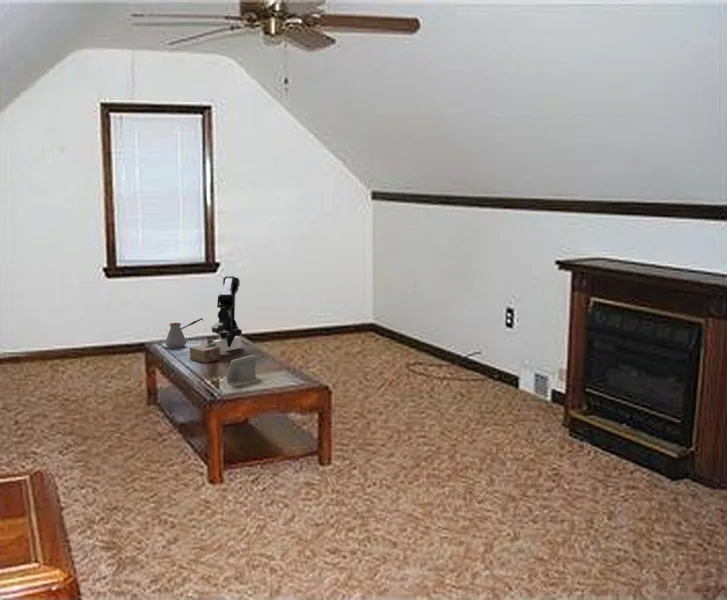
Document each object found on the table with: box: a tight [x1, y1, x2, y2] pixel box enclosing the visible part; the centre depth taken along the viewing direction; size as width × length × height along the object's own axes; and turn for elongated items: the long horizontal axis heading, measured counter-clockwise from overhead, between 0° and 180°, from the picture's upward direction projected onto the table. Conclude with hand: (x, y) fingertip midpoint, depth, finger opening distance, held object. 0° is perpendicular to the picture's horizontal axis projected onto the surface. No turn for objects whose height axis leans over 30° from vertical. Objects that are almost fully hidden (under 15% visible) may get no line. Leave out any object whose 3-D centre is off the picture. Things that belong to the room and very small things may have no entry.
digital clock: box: [226, 354, 258, 383], centre depth 364 cm, size 16×9×11 cm, turn 131°
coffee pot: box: [164, 317, 204, 349], centre depth 436 cm, size 21×12×15 cm, turn 113°
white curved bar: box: [207, 335, 242, 353], centre depth 414 cm, size 20×3×6 cm, turn 137°
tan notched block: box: [189, 344, 221, 363], centre depth 405 cm, size 10×12×6 cm
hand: (227, 346), depth 415 cm, fingers closed on white curved bar, 3 cm apart
